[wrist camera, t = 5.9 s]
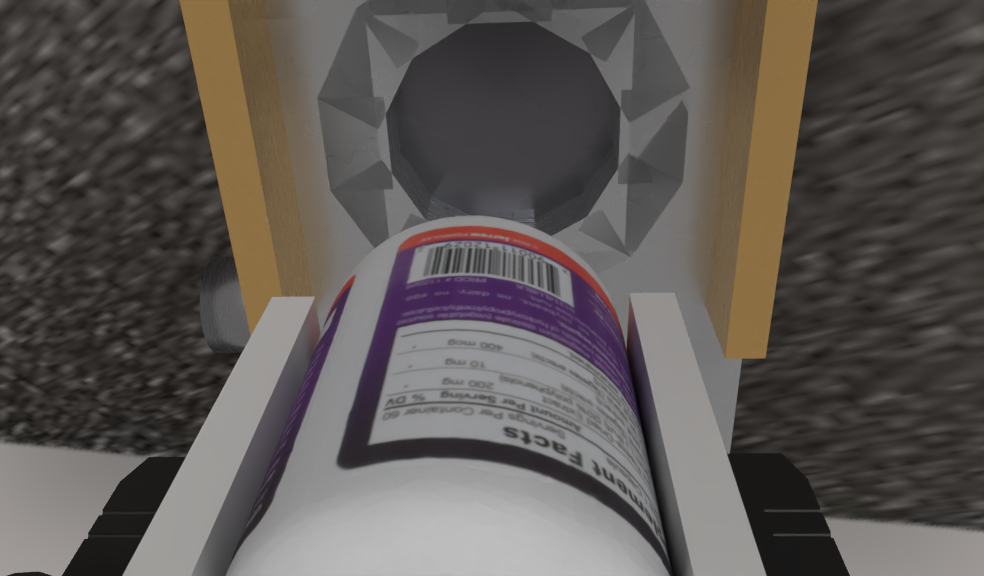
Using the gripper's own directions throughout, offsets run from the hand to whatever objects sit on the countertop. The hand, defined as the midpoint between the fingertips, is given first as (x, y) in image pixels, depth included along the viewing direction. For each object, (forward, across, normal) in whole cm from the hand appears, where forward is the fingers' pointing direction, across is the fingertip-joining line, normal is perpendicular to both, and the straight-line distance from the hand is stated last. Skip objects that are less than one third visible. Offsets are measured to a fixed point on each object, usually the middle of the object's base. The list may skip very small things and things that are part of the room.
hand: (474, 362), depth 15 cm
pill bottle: (+1, 0, 0) cm, 1 cm away
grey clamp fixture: (+17, -1, -3) cm, 17 cm away
